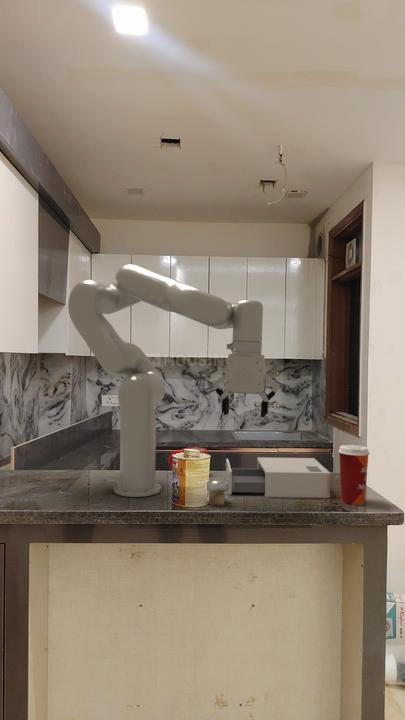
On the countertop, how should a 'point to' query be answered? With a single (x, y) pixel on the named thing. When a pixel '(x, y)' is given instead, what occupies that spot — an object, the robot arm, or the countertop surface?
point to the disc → (217, 484)
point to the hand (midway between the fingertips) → (244, 415)
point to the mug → (183, 450)
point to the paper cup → (353, 473)
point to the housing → (295, 477)
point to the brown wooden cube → (216, 498)
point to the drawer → (245, 479)
